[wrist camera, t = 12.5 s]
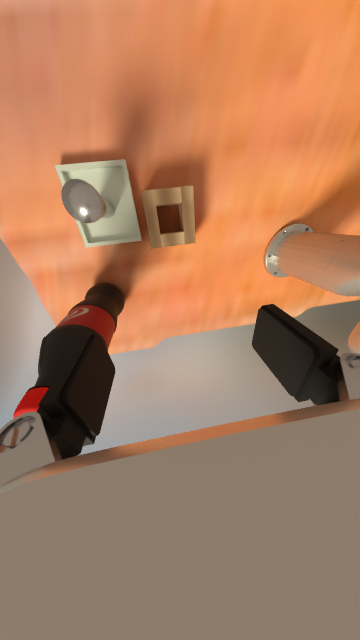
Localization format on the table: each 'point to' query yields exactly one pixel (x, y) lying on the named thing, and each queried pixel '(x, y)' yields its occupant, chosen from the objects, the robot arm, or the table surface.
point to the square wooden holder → (186, 215)
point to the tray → (113, 186)
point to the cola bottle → (74, 338)
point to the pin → (85, 202)
